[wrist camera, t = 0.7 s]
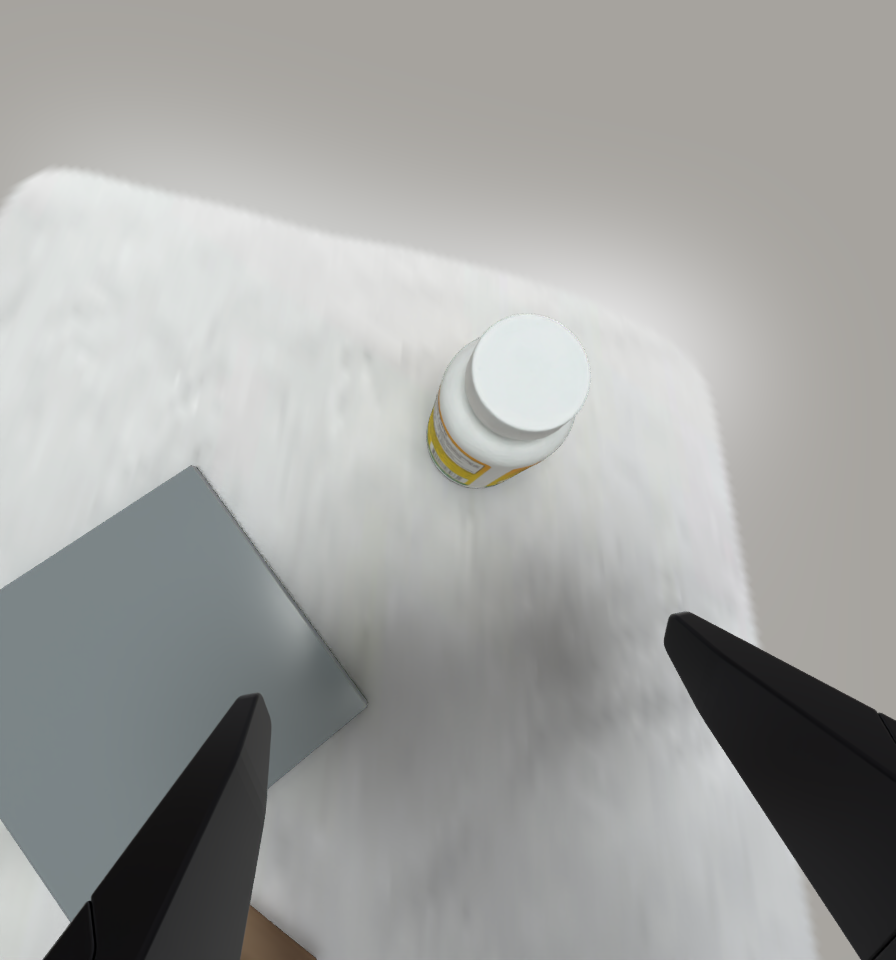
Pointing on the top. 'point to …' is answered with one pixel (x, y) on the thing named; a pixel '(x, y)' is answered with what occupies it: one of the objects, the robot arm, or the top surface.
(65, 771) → the coaster
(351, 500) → the top surface
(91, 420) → the top surface
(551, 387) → the supplement bottle
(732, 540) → the top surface
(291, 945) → the walnut block
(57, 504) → the top surface
